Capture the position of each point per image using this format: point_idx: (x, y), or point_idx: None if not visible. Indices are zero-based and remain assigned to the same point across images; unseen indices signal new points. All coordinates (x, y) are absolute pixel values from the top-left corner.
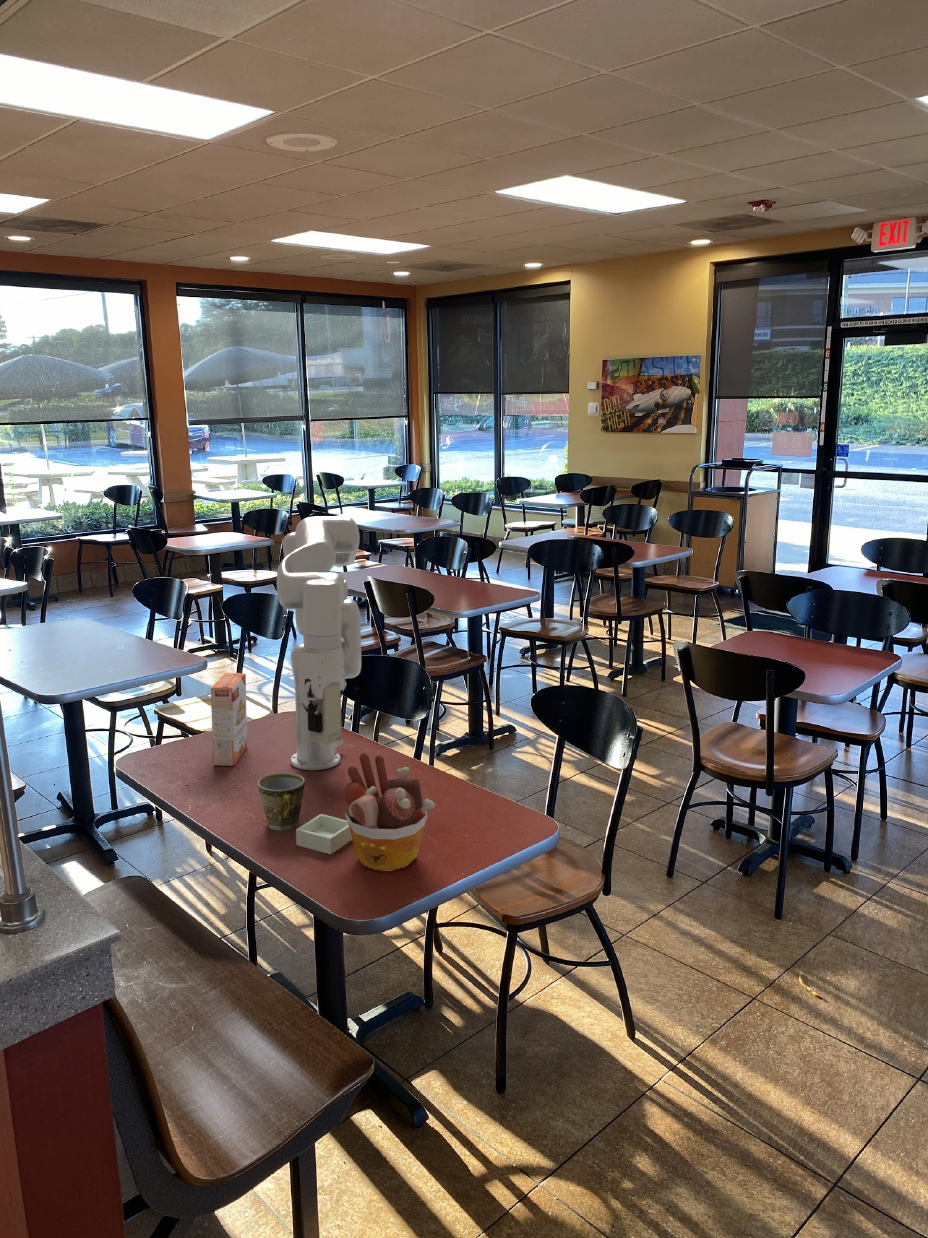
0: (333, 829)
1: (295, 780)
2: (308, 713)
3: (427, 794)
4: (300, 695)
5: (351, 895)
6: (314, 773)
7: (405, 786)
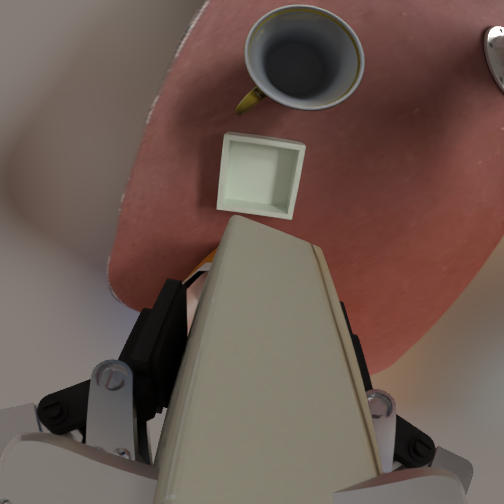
0: (292, 172)
1: (354, 71)
2: (134, 354)
3: (448, 252)
4: (16, 445)
5: (143, 270)
6: (481, 65)
7: None
